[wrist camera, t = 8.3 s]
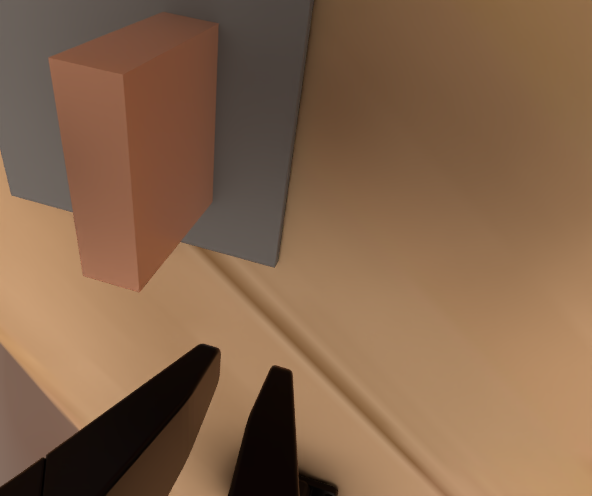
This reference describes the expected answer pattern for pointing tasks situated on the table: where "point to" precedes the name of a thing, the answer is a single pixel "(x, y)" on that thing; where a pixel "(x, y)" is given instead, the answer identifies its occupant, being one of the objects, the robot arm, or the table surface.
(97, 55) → the block
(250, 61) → the mat
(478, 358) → the table surface
